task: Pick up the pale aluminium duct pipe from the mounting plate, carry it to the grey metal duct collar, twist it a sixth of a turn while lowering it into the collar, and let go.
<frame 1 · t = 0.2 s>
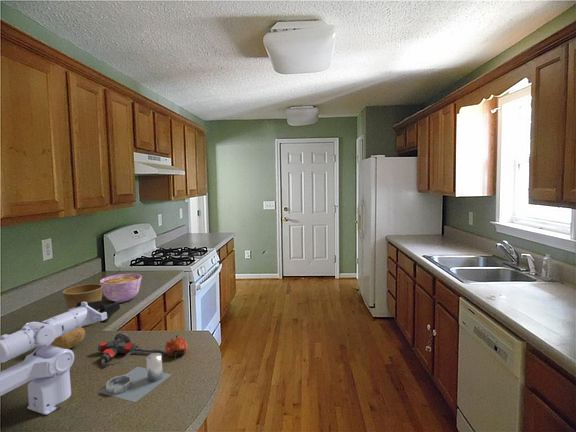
hand: (110, 304, 115), 22 cm above the worktop, tool horizontal, fingers open, 7 cm apart
bowl of food: (122, 300, 186), on the worktop
pomegranate: (176, 358, 123), on the worktop
mounting plate: (136, 385, 106), on the worktop
valve: (128, 359, 123), on the worktop
duct pipe: (155, 378, 108), point 1 cm above the worktop, touching mounting plate
plant pot: (85, 324, 154), on the worktop
potato: (64, 349, 131), on the worktop
duct collar: (119, 390, 104), resting on mounting plate
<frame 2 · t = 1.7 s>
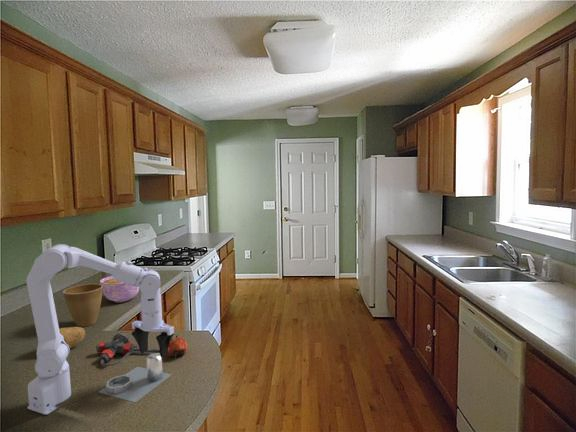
hand: (154, 353, 108), 9 cm above the worktop, tool pointing down, fingers open, 7 cm apart
nothing on the worktop moved.
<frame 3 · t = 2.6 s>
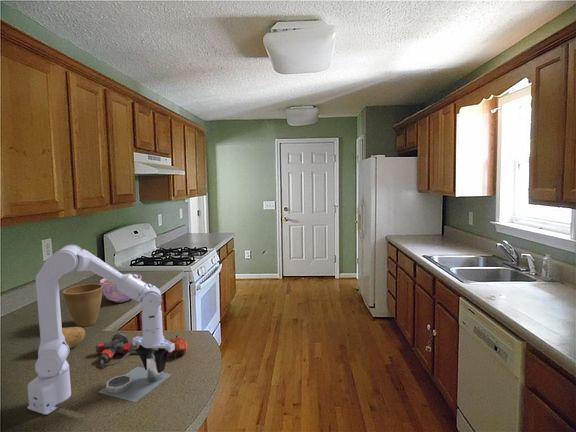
hand: (154, 369, 108), 4 cm above the worktop, tool pointing down, fingers closed on duct pipe, 4 cm apart
duct pipe: (155, 378, 108), point 1 cm above the worktop, touching gripper, mounting plate
everything else where it was.
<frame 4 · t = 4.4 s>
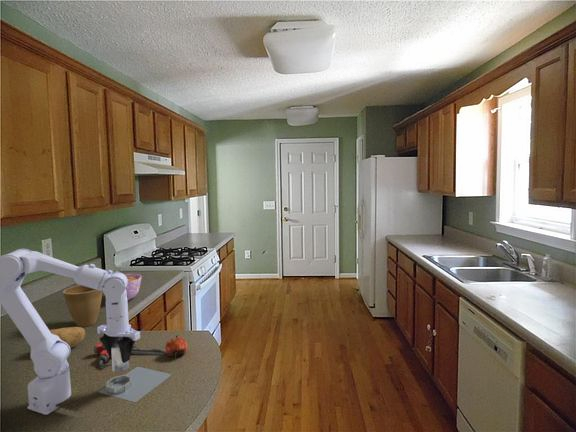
hand: (119, 359, 103), 9 cm above the worktop, tool pointing down, fingers closed on duct pipe, 4 cm apart
duct pipe: (120, 368, 104), point 7 cm above the worktop, touching gripper
everything else where it was.
when the fingers open (4 cm above the worktop, at t = 6.1 s): duct pipe stays where it is, resting on mounting plate.
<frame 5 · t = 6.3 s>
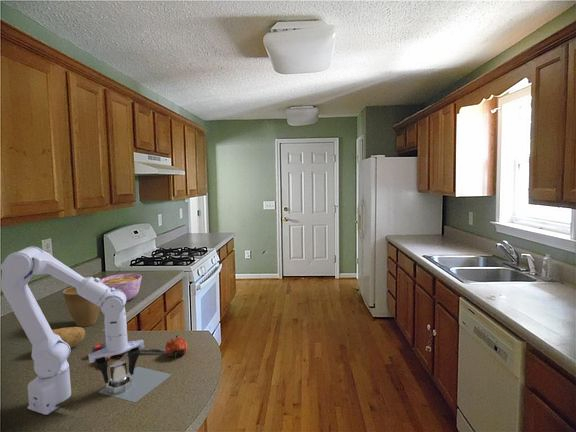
hand: (119, 377, 103), 4 cm above the worktop, tool pointing down, fingers open, 6 cm apart
duct pipe: (119, 387, 104), point 1 cm above the worktop, touching mounting plate
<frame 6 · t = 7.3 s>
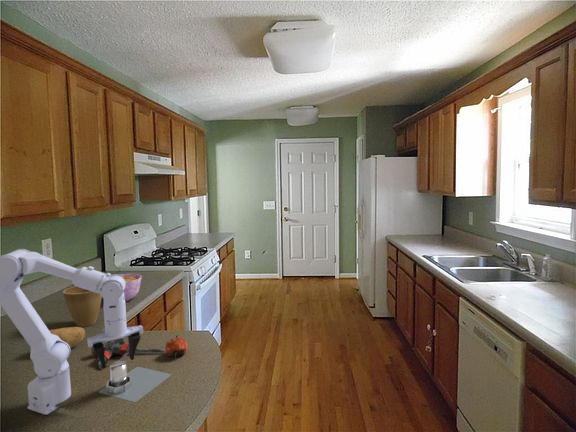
hand: (117, 362, 103), 9 cm above the worktop, tool pointing down, fingers open, 7 cm apart
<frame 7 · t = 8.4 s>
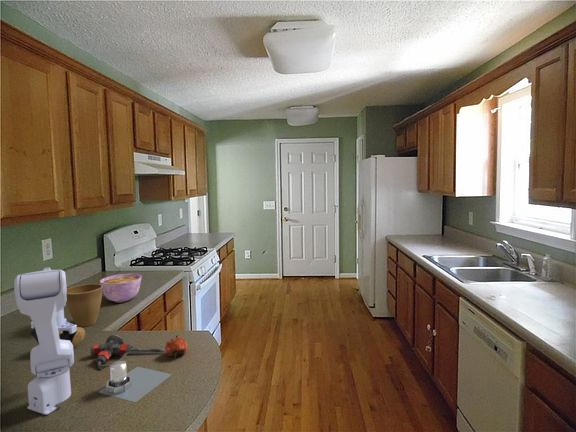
hand: (55, 351, 108), 10 cm above the worktop, tool pointing down, fingers open, 7 cm apart
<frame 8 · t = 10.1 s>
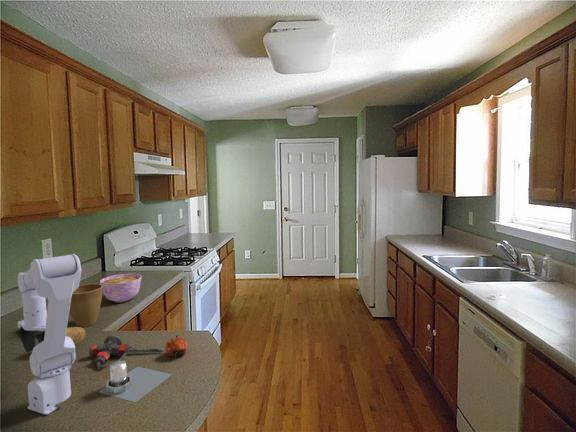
hand: (38, 352, 108), 9 cm above the worktop, tool pointing down, fingers open, 7 cm apart
at the end: duct pipe 0.1 cm from the duct collar (horizontally); duct pipe point 1.0 cm above the worktop; duct pipe tilted 0° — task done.
